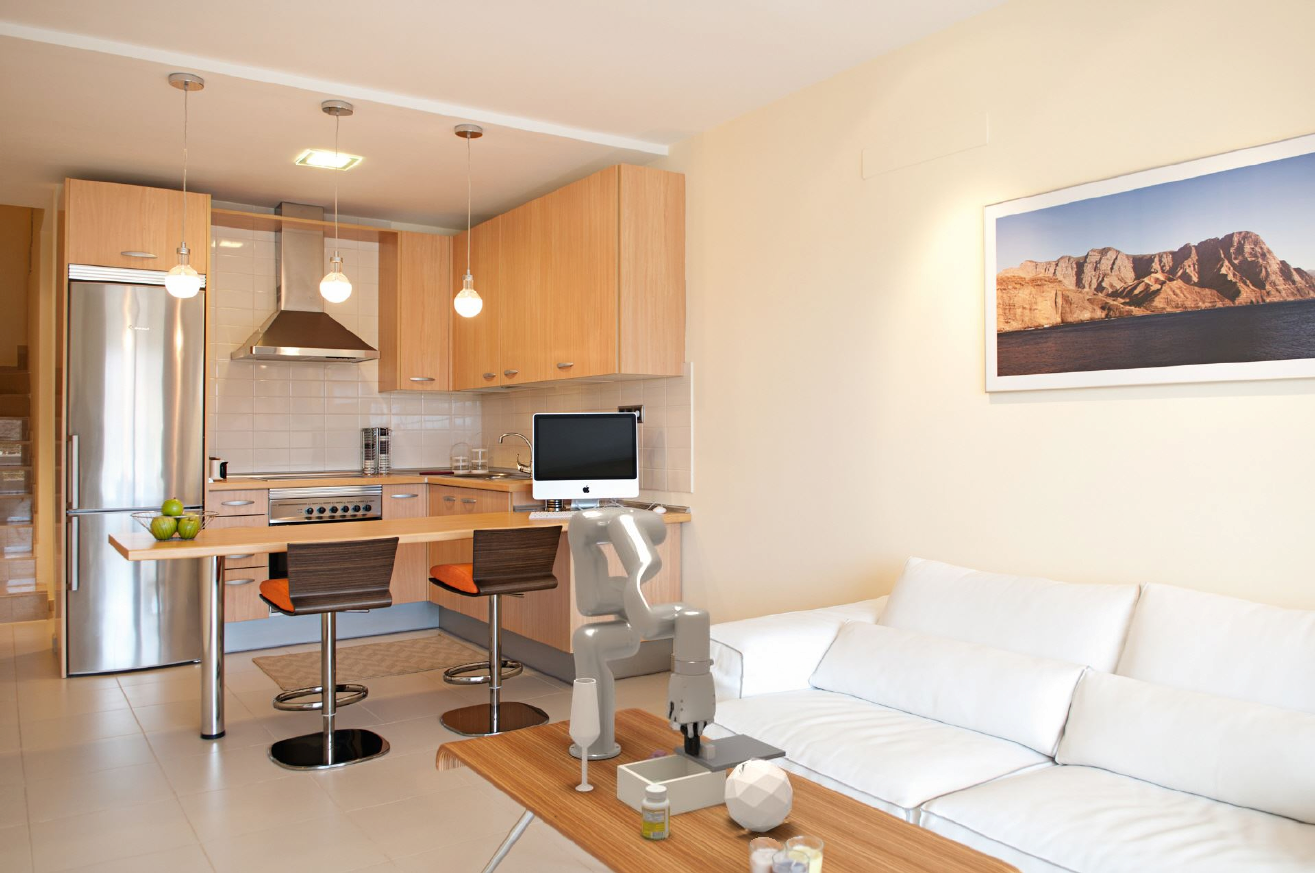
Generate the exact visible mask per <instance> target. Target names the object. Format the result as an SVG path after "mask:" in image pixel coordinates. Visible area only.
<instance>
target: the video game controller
mask: <svg viewBox="0 0 1315 873" xmlns="http://www.w3.org/2000/svg"><path fill="white" fill-rule="evenodd" d="M664 756H668V752H666V751H665V750H663V749H662V750H661V749H660V748H658V749H657V750H655V751H652V752H651V754H650V756H649V757H648V758H646V760H649V759H654V758H659V757H664Z"/></svg>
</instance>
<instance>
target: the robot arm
mask: <svg viewBox="0 0 1315 873" xmlns="http://www.w3.org/2000/svg"><path fill="white" fill-rule="evenodd" d="M667 534H668V529H667V525H666V522H665V520H664V519H663V517H662V516H661V515H660V514H659V513H658V512H656V511H653V510H649V509H648V510H647V509H642V508H637V507H629V506H628V507H626V506H624V507H623V506H621V507H620V506H619V507H617V506H616V507H591V508H586V509H584V508H583V509H582V510H578V511H577V512H575V513H574V514H573V515H572V516H571V517H570V519H569V522H568V526H567V541H568V545H569V549H570V551H571V555H572V556H571V557H572V560H573V572H574V574H573V575H574V588H575V590H574V592H575V602H576V608H577V612H578V613H579V615H581V616H583V617H587V618H594V617H595V618H597V617H605V616H613V620H605V621H596V622H595V621H594V622H588V623H586V624H583V625H580V626H578V628H576V629H575V630H574V632H573V634H572V637H571V648H572V653H573V659H574V666H575V680H576V679H581V678H590V679H594V680H596V689H597V700H598V712H599V723H600V734H599V736H598V738H597V739H596V740H595V741H594V742H593V743H592V744H591V745H590V746H589V747H587V760H589V761H590V760H594V761H596V760H606V759H611V758H614V757H617V756H618V755H619V754H621V751H622V749H621V748H622V747H621V745H620V744H619V743H617V742H615V724H616V723H615V721H616V720H615V714H616V713H615V704H616V703H615V702H616V701H615V699H616V698H615V697H616V696H615V693H616V692H615V690H616V688H615V677H614V674H613V673H612V671H611V669H610V668H609V666H608V664H607V662H609V661H613V660H620V659H626V658H630V657H633V656H635V655H636V654H637V653H638V652H639V650H640V648H641V639H643V641H644V640H645V641H657V640H665V639H672V638H673V639H674V673H671V674H670V678H669V682H668V687H667V697H666V718H667V719H668V720H670V722H669V728H670V729H671V730H674V731H680V733H681V734H682V735H684V736H683V739H684V740H683V741H684V742H683V746H684V750H685V753H686V754H688V755H690V756H695V755H696V756H697V755H699V749H700V739H701V736H703V735H704V734H703V733H704V732H703V731H704V730H705V729H706V727H707V726H709V725H711V724H713V723H714V722H715V716H716V711H717V710H716V709H717V703H716V702H717V700H716V699H717V698H716V689H715V688H716V687H715V682H714V680H715V679H714V676H713V673H712V672H711V666H713V665H714V664H715V662H714V659H713V658H711V617H710V616H711V615H710V613H709V611H708V610H707V609H705V608H702V607H695V606H693V605H691V604H689V603H687V602H683V601H677V602H666V603H665V602H664V603H655V604H649V603H648V601H647V600H646V598H645V596H644V594H643V591H642V587H641V586H642V585H644V584H646V583H647V582H649V581H650V580H652V579H653V578H654V577H656V576H657V575H658V574H659V572H660V571H661V569H662V566H663V561H662V558H661V556H660V555H659V552H658V551H657V549H656V547H657V546H658V547H659V546H660V545H662V544H663V543H664V542H665V541H666V539H667ZM598 543H611V544H612V546H613V548H614V550H615V553H616V554H617V557H618V558H619V560H620V563H621V564H622V566H623V569H624V571H625V572H626V574H627V576H625V575H615V576H614V575H613V576H612V575H611V576H610V572H609V561H608V557H607V555H606V553H605V551H604V550H603V549H602V546H600V545H599V544H598ZM569 754H570V755H571V756H573V757H575V758H577V759H580V760H582V747H580V746H579V745H578V744H576V743H575V742H574V743H573V744H571V745H570V746H569Z"/></svg>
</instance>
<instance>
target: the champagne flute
mask: <svg viewBox="0 0 1315 873" xmlns="http://www.w3.org/2000/svg"><path fill="white" fill-rule="evenodd" d="M571 697H572V699H571V708H570V718H569V728H568V733H569V736H570V738H571V739H572V741H573V742H574V743H576V744H578V745H579V746H580V747H582V759H581V783H580V784H579V785H577V786H575V790H576V791H579V792H588V791H592V790H594V786H593V785H591V784H589V783H588V759H587V747H589V746H590V745H591V744H592V743H593V742H594V741H595V740H596V739H597V738H598V736H599V734H600V723H599V712H598V700H597V689H596V680H594V679H590V678H581V679H576V678H575V679H574V680H573V687H572V696H571Z"/></svg>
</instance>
